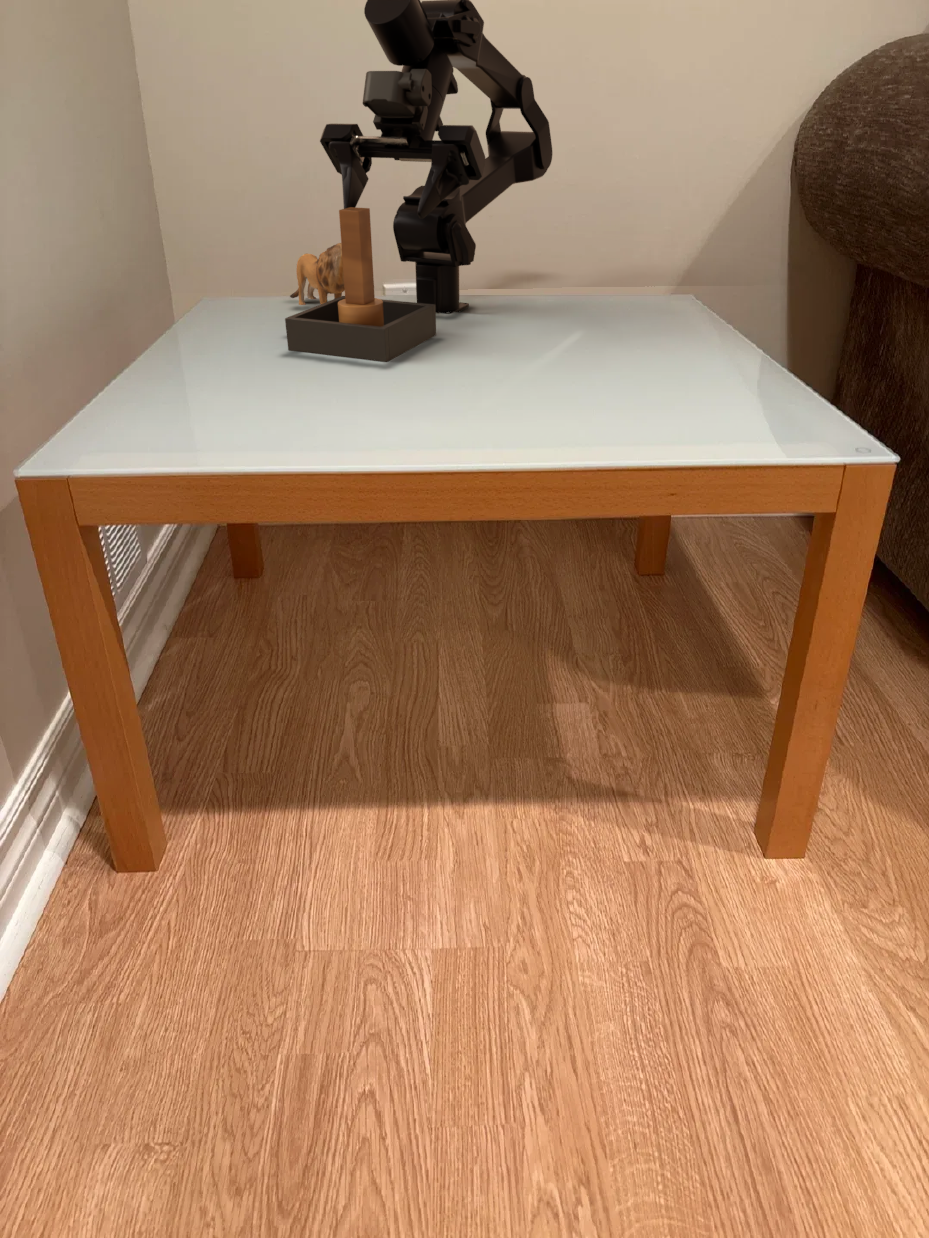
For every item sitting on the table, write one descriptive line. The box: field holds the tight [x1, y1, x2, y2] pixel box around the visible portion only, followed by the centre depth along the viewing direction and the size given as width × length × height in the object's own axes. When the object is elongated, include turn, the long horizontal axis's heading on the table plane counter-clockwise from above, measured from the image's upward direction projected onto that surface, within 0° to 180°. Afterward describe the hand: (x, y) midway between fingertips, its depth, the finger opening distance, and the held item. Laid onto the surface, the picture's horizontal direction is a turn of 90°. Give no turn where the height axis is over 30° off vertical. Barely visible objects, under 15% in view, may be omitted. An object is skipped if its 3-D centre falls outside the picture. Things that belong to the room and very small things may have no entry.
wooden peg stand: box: [338, 207, 384, 327], centre depth 101 cm, size 5×5×14 cm
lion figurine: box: [289, 242, 345, 306], centre depth 121 cm, size 15×5×9 cm, turn 44°
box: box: [284, 295, 437, 363], centre depth 106 cm, size 13×13×4 cm
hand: (382, 214), depth 104 cm, fingers open, 9 cm apart
